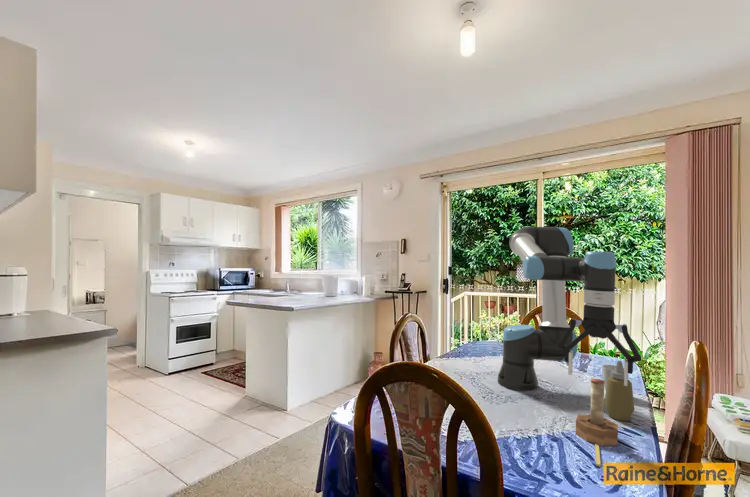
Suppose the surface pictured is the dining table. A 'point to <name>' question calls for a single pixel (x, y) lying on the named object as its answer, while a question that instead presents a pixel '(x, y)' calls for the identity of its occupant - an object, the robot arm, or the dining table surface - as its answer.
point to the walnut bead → (597, 431)
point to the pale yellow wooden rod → (597, 455)
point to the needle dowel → (597, 402)
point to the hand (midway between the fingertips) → (596, 379)
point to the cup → (607, 373)
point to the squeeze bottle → (619, 395)
